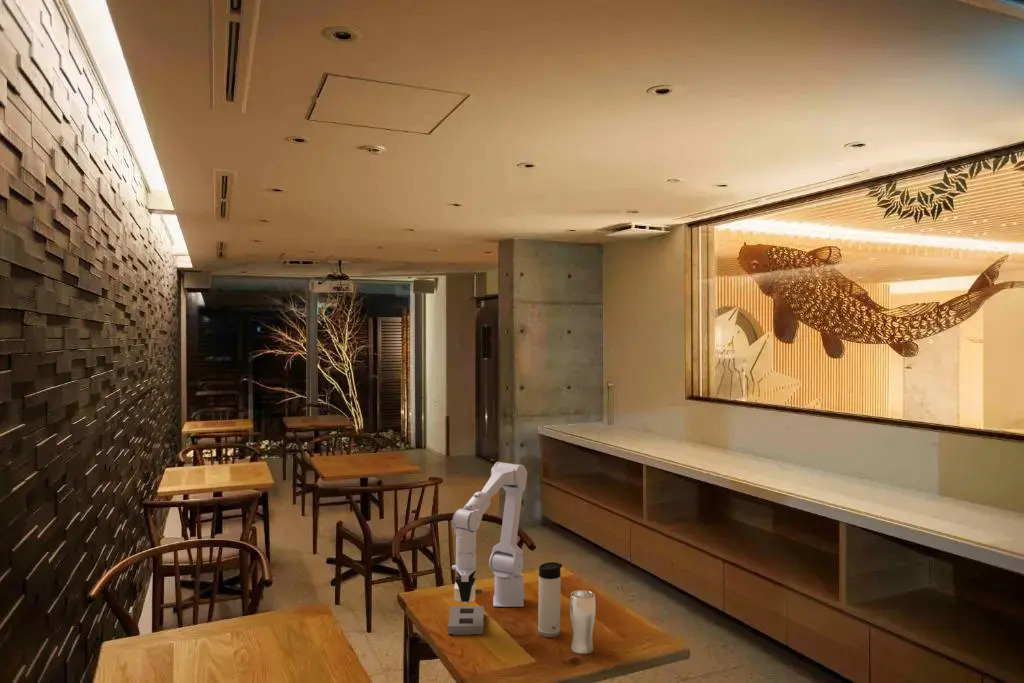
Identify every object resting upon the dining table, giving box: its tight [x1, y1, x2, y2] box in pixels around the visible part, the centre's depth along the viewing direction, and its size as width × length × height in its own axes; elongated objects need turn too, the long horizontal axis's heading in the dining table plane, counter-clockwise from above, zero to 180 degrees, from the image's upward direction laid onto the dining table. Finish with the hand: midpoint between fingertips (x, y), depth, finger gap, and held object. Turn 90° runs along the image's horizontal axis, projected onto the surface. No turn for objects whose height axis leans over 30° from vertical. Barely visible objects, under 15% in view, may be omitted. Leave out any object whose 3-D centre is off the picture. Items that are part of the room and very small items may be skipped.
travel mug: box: [537, 561, 563, 638], centre depth 201 cm, size 6×7×20 cm
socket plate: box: [447, 605, 485, 636], centre depth 206 cm, size 10×14×2 cm
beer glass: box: [569, 589, 597, 655], centre depth 191 cm, size 7×7×15 cm
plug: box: [453, 582, 483, 606], centre depth 203 cm, size 8×5×6 cm, turn 92°
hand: (465, 597), depth 203 cm, fingers closed on plug, 5 cm apart
